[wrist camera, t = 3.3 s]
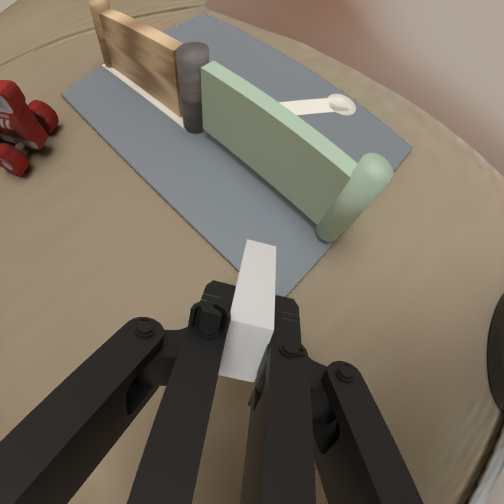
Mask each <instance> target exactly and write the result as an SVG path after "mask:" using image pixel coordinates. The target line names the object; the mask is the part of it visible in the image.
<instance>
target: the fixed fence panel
mask: <svg viewBox="0 0 504 504" xmlns="http://www.w3.org/2000/svg"><path fill="white" fill-rule="evenodd" d="M88 2H89V6H90V10H91V14H92V18H93V22H94V26H95V29H96V33H97V37H98V40H99V44H100V48H101V51H102V54H103V58H104V61H105V65H106V67H108V68H114V69H115V70H117V71H118V72H120V73H121V74H122V75H124V76H125V77H127V78H128V79H129V80H131V81H132V82H133V83H135V84H136V85H138V86H139V87H140V88H142V89H143V90H144V91H146V92H147V93H148V94H150V95H151V96H152V97H154V98H155V99H156V100H158V101H159V102H160V103H162V104H163V105H164V106H166V107H167V108H168V109H169V110H171V111H172V112H173V113H175V114H176V115H177V116H178V117H180V118H181V117H183V125H184V128H185V129H186V131H187V132H189V133H193V134H198V133H202V132H204V131H205V130H204V129H203V119H202V94H201V67H202V66H204V65H206V64H208V63H209V47H208V46H207V45H206V44H204V43H201V42H188V43H184V44H183V43H182V42H180V41H178V40H176V39H174V38H172V37H170V36H168V35H166V34H164V33H162V32H160V31H158V30H156V29H154V28H152V27H150V26H148V25H146V24H144V23H142V22H140V21H138V20H136V19H133V18H131V17H129V16H127V15H125V14H122V13H120V12H118V11H115V10H113V9H111V8H110V5H109V0H88Z"/></svg>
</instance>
